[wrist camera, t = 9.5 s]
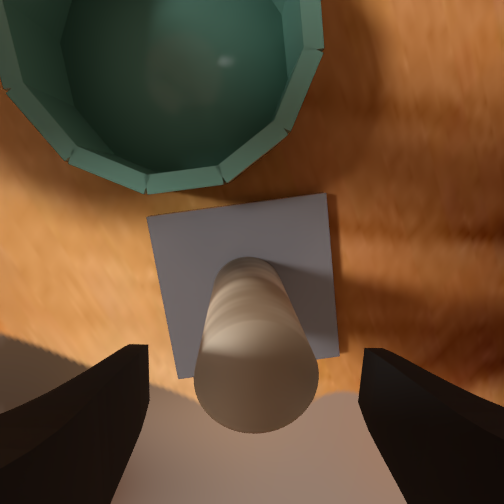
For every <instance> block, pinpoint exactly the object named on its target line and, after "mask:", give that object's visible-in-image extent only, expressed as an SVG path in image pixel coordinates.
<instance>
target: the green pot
mask: <svg viewBox="0 0 504 504" xmlns="http://www.w3.org/2000/svg"><path fill="white" fill-rule="evenodd" d="M323 49H324V39H323V25H322V12H321V0H0V78H1V82H2V86H3V89H5V90H8V92H7V93H6V94H7V95H8V96H9V98H10V99H11V100H12V101H13V102H14V103H15V105H16V106H17V107H18V108H19V109H20V110H21V111H22V113H23V114H24V115H25V116H26V117H27V118H28V120H29V121H30V122H31V123H32V124H33V125H34V126H35V128H36V129H37V130H38V131H39V132H40V133H41V135H42V136H43V137H44V138H45V139H46V140H47V141H48V143H49V144H50V145H51V146H52V147H53V148H54V150H55V151H56V152H57V153H58V154H59V155H60V156H61V158H62V159H63V160H64V161H69V162H68V164H70V165H73V166H75V167H78V168H80V169H83V170H85V171H88V172H90V173H93V174H95V175H97V176H100V177H102V178H105V179H107V180H110V181H112V182H115V183H117V184H120V185H122V186H125V187H127V188H130V189H132V190H135V191H137V192H140V193H142V194H148V195H149V194H156V193H164V192H171V191H179V190H186V189H194V188H201V187H209V186H216V185H224V184H227V183H230V182H231V181H232V180H233V179H235V178H236V177H237V176H239V175H240V174H241V173H242V172H244V171H245V170H246V169H247V168H249V167H250V166H251V165H253V164H254V163H255V162H256V161H258V160H259V159H260V158H261V157H263V156H264V155H265V154H266V153H268V152H269V151H270V150H272V149H273V148H274V147H275V146H276V145H277V144H279V143H280V142H281V141H282V140H283V139H284V138H285V137H286V136H287V135H288V133H290V132H291V130H292V127H293V125H294V122H295V120H296V118H297V115H298V113H299V110H300V108H301V106H302V103H303V101H304V98H305V96H306V94H307V91H308V89H309V86H310V84H311V82H312V79H313V77H314V74H315V72H316V70H317V67H318V65H319V62H320V60H321V58H322V55H323V52H322V51H323Z"/></svg>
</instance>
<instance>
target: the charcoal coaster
mask: <svg viewBox="0 0 504 504" xmlns="http://www.w3.org/2000/svg"><path fill="white" fill-rule="evenodd" d="M146 218H147V223H148V228H149V233H150V238H151V243H152V248H153V253H154V258H155V263H156V268H157V274H158V279H159V284H160V289H161V294H162V299H163V304H164V309H165V314H166V319H167V324H168V329H169V334H170V340H171V345H172V350H173V355H174V360H175V365H176V370H177V375H178V379H183V378H190V377H194V370H195V366H196V361H197V357H198V352H199V348H200V343H201V339H202V335H203V330H204V326H205V321H206V317H207V312H208V308H209V303H210V299H211V294H212V290H213V285H214V281H215V278H216V276H217V274H218V272H219V271H220V270H221V268H222V267H223V266H224V265H226V264H227V263H228V262H230V261H232V260H234V259H237V258H240V257H255V258H259V259H262V260H264V261H266V262H267V263H269V264H270V265H271V266H272V267H273V268H274V269H275V270H276V272H277V273H278V275H279V277H280V279H281V282H282V284H283V286H284V288H285V291H286V293H287V295H288V297H289V300H290V302H291V304H292V306H293V309H294V311H295V313H296V315H297V317H298V320H299V322H300V324H301V326H302V329H303V331H304V333H305V335H306V338H307V340H308V342H309V344H310V346H311V349H312V351H313V353H314V355H315V358H316V359H323V358H330V357H337V356H340V354H339V342H338V330H337V318H336V306H335V293H334V281H333V269H332V257H331V245H330V232H329V220H328V208H327V196H326V193H323V192H322V193H315V194H307V195H300V196H292V197H285V198H277V199H270V200H263V201H255V202H248V203H240V204H233V205H225V206H218V207H210V208H203V209H196V210H188V211H181V212H173V213H166V214H158V215H151V216H148V217H146Z"/></svg>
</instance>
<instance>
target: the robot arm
mask: <svg viewBox="0 0 504 504" xmlns="http://www.w3.org/2000/svg"><path fill="white" fill-rule="evenodd" d="M358 403H359V406H360V409H361V411H362V414H363V417H364V420H365V422H366V425H367V427H368V430H369V432H370V434H371V436H372V438H373V440H374V442H375V444H376V446H377V448H378V449H379V451H380V453H381V455H382V457H383V459H384V461H385V463H386V464H387V466H388V468H389V470H390V472H391V474H392V476H393V477H394V479H395V481H396V483H397V485H398V487H399V489H400V491H401V492H402V494H403V496H404V498H405V500H406V502H407V504H504V407H502V406H500V405H497V404H495V403H493V402H490V401H488V400H485V399H483V398H481V397H479V396H476V395H474V394H472V393H470V392H468V391H466V390H464V389H462V388H460V387H458V386H456V385H453V384H451V383H450V382H448V381H446V380H444V379H442V378H440V377H438V376H436V375H434V374H432V373H430V372H428V371H427V370H425V369H423V368H421V367H419V366H417V365H415V364H414V363H412V362H410V361H408V360H406V359H404V358H402V357H400V356H398V355H396V354H394V353H392V352H390V351H388V350H385V349H383V348H365V349H364V357H363V365H362V374H361V382H360V390H359V399H358ZM148 404H149V357H148V345H139V344H129V345H127V346H125V347H123V348H122V349H120V350H118V351H117V352H115V353H113V354H112V355H110V356H109V357H107V358H106V359H104V360H102V361H101V362H99V363H98V364H96V365H94V366H93V367H91V368H90V369H88V370H87V371H85V372H83V373H81V374H80V375H78V376H76V377H75V378H73V379H71V380H69V381H67V382H66V383H64V384H62V385H60V386H59V387H57V388H55V389H53V390H51V391H49V392H48V393H46V394H44V395H42V396H40V397H38V398H35V399H34V400H31V401H29V402H27V403H25V404H23V405H21V406H18V407H16V408H14V409H11V410H9V411H6V412H4V413H1V414H0V504H110V503H111V501H112V498H113V496H114V494H115V491H116V489H117V486H118V484H119V482H120V480H121V477H122V475H123V473H124V470H125V468H126V465H127V463H128V461H129V458H130V456H131V454H132V451H133V449H134V446H135V444H136V442H137V439H138V437H139V434H140V432H141V429H142V426H143V422H144V419H145V416H146V411H147V408H148Z"/></svg>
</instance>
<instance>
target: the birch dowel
mask: <svg viewBox="0 0 504 504" xmlns="http://www.w3.org/2000/svg"><path fill="white" fill-rule="evenodd" d="M318 380H319V372H318V365H317V361H316V358H315V355H314V353H313V351H312V349H311V346H310V344H309V342H308V340H307V338H306V335H305V333H304V331H303V329H302V326H301V324H300V322H299V320H298V317H297V315H296V313H295V311H294V309H293V306H292V304H291V302H290V300H289V297H288V295H287V293H286V291H285V288H284V286H283V284H282V282H281V279H280V277H279V275H278V273H277V272H276V270H275V269H274V268H273V267H272V266H271V265H270V264H269V263H267V262H266V261H264V260H262V259H259V258H255V257H240V258H237V259H234V260H232V261H230V262H228V263H227V264H226V265H224V266H223V267H222V268H221V270H220V271H219V272H218V274H217V276H216V278H215V281H214V285H213V290H212V294H211V299H210V303H209V308H208V312H207V317H206V321H205V326H204V330H203V335H202V339H201V343H200V348H199V352H198V357H197V361H196V366H195V370H194V387H195V392H196V395H197V398H198V400H199V402H200V404H201V406H202V407H203V409H204V410H205V411H206V413H207V414H208V415H209V416H210V417H211V418H212V419H214V420H215V421H216V422H218V423H219V424H221V425H223V426H224V427H227V428H229V429H231V430H234V431H238V432H243V433H253V434H254V433H266V432H271V431H274V430H278V429H280V428H282V427H285V426H286V425H288V424H290V423H292V422H293V421H294V420H296V419H297V418H298V417H299V416H300V415H302V414H303V412H304V411H305V410H306V409H307V408H308V406H309V405H310V403H311V402H312V400H313V398H314V396H315V393H316V390H317V386H318Z"/></svg>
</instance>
